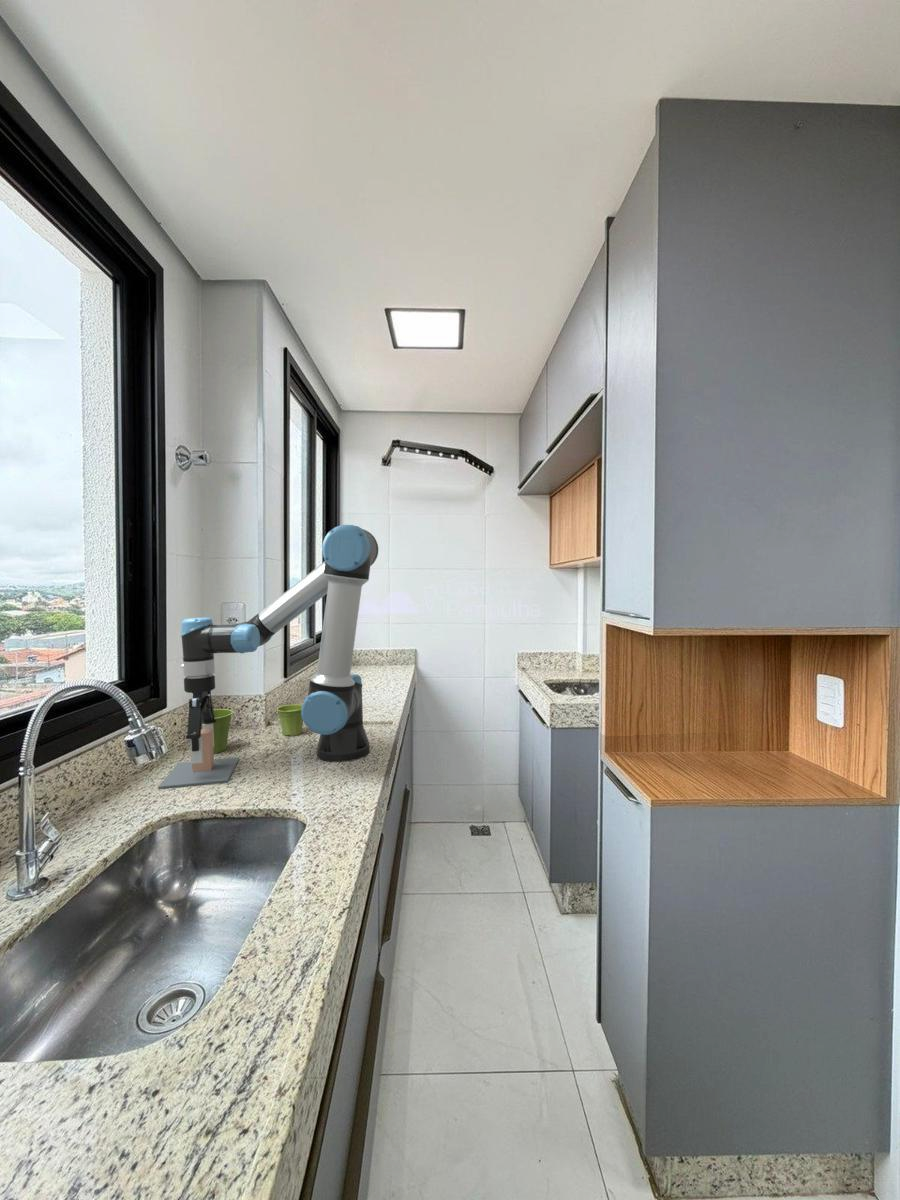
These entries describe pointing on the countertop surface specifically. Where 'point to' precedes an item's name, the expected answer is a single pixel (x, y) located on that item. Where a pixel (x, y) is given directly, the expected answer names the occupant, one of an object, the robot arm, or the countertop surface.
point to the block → (206, 752)
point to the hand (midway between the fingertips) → (203, 754)
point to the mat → (199, 774)
